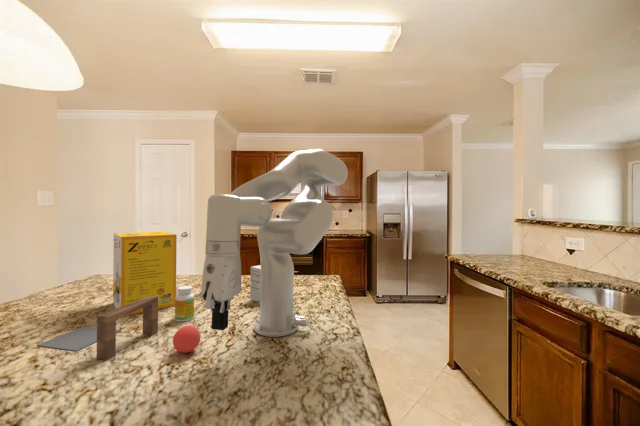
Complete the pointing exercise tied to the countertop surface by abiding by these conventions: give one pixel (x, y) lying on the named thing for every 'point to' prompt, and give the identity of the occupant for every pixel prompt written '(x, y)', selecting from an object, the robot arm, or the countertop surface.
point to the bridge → (108, 319)
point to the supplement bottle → (184, 304)
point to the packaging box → (144, 268)
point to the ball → (186, 339)
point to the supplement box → (255, 283)
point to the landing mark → (74, 339)
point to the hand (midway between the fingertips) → (219, 328)
